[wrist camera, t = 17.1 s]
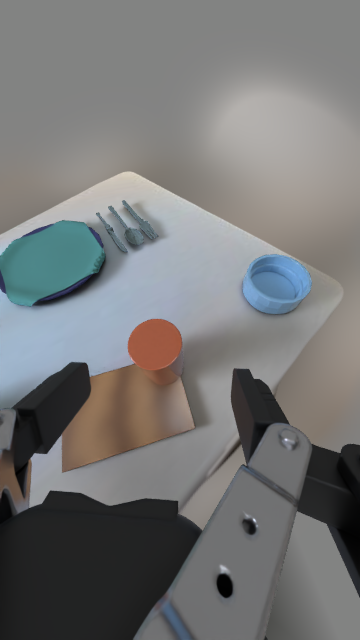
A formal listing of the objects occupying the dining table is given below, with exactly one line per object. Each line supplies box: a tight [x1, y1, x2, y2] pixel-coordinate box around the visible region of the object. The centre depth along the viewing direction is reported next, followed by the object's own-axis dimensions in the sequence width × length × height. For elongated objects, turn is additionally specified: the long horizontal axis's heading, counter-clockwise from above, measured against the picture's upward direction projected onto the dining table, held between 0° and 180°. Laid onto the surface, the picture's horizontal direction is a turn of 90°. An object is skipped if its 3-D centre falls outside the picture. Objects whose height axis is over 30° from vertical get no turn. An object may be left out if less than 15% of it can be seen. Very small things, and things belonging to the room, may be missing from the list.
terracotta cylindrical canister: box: [128, 319, 184, 385], centre depth 24 cm, size 6×6×8 cm
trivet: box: [62, 364, 195, 473], centre depth 26 cm, size 16×10×1 cm, turn 106°
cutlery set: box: [0, 200, 158, 307], centre depth 39 cm, size 20×30×2 cm, turn 124°
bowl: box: [243, 254, 312, 314], centre depth 32 cm, size 9×10×4 cm
